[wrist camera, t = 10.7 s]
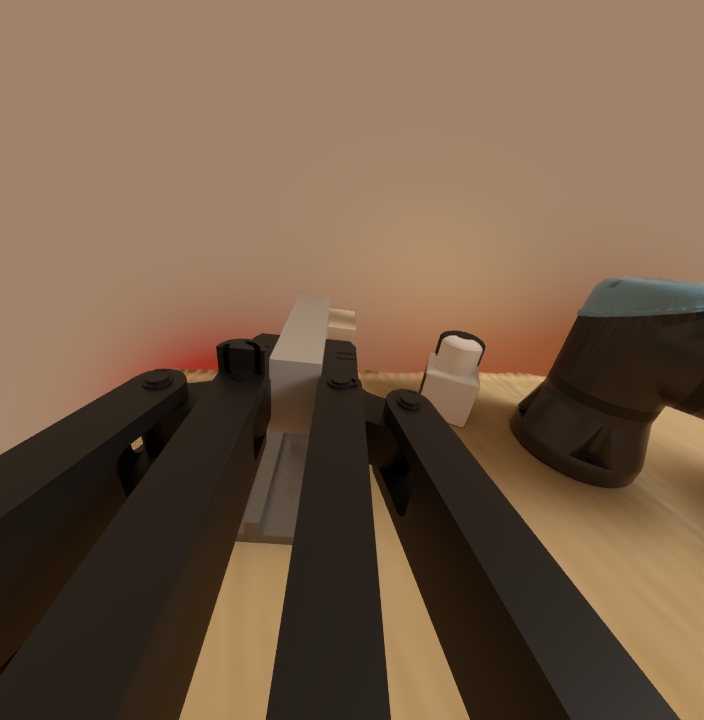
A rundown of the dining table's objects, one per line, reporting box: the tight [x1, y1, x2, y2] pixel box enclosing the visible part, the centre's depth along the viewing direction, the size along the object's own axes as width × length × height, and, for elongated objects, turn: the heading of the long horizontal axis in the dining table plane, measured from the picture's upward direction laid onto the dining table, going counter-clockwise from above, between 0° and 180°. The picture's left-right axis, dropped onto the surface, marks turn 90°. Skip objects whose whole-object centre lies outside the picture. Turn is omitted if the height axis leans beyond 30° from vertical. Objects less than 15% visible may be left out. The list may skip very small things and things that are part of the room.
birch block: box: [327, 308, 356, 345], centre depth 36 cm, size 6×6×13 cm
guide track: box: [236, 422, 309, 545], centre depth 34 cm, size 22×11×2 cm, turn 1°
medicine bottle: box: [419, 331, 485, 427], centre depth 43 cm, size 7×7×12 cm
